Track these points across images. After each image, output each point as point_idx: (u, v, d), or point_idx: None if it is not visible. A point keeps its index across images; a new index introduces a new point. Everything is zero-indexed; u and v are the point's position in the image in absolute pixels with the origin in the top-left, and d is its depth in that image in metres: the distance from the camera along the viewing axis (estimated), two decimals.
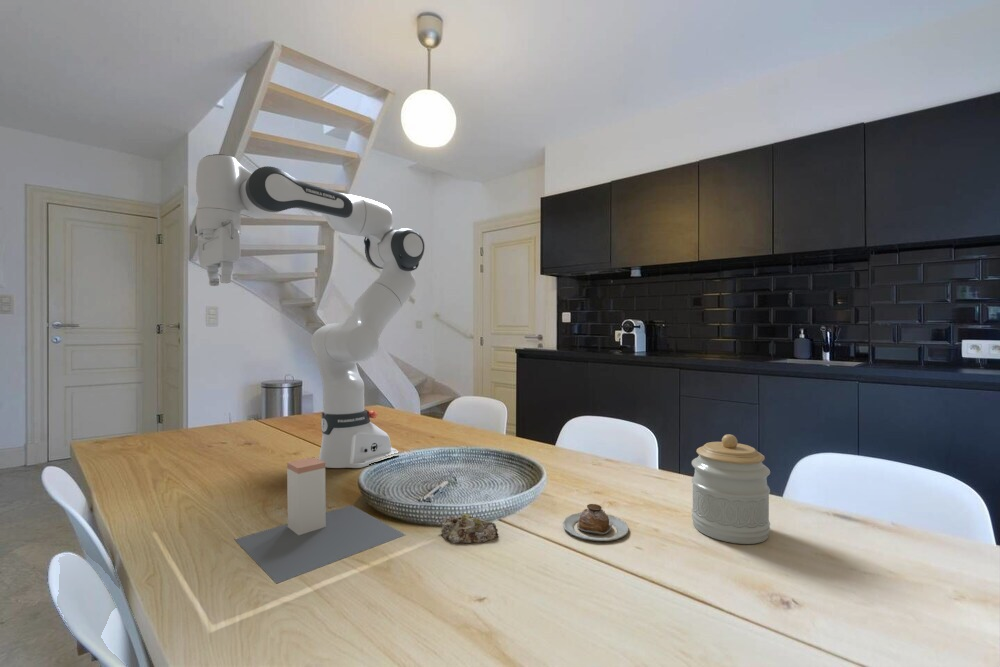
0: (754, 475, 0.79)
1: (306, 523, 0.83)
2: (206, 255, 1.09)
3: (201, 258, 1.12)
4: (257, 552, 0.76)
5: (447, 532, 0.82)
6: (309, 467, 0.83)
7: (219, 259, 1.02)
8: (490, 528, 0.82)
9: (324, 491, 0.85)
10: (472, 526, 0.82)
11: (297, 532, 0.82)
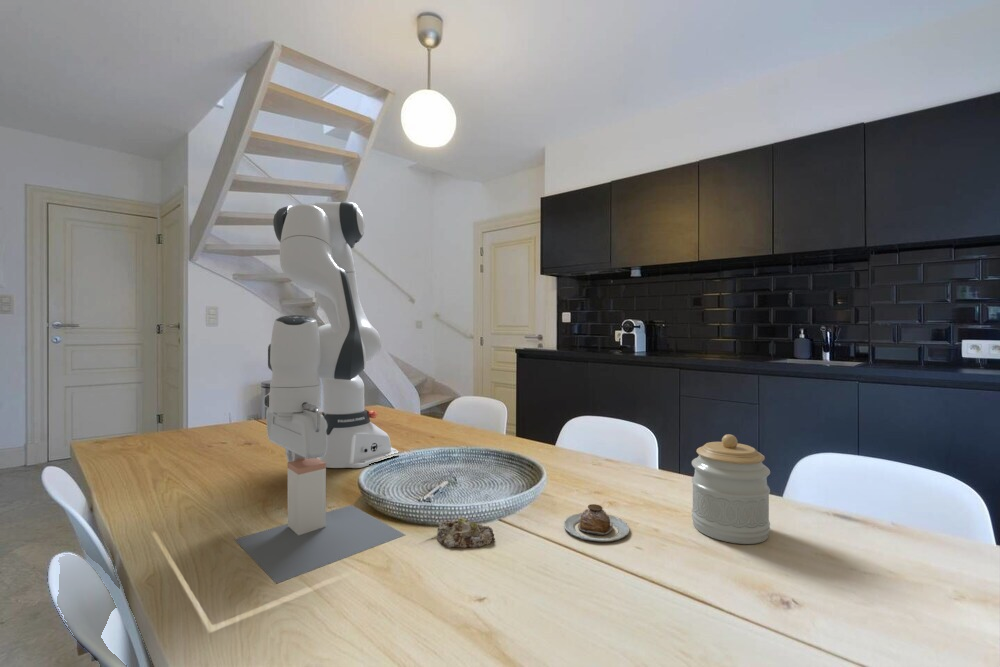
0: (754, 475, 0.79)
1: (306, 523, 0.83)
2: (279, 434, 0.89)
3: (270, 432, 0.92)
4: (257, 552, 0.76)
5: (442, 536, 0.80)
6: (309, 468, 0.83)
7: (301, 455, 0.82)
8: (486, 533, 0.80)
9: (324, 491, 0.85)
10: (468, 530, 0.81)
11: (297, 532, 0.82)
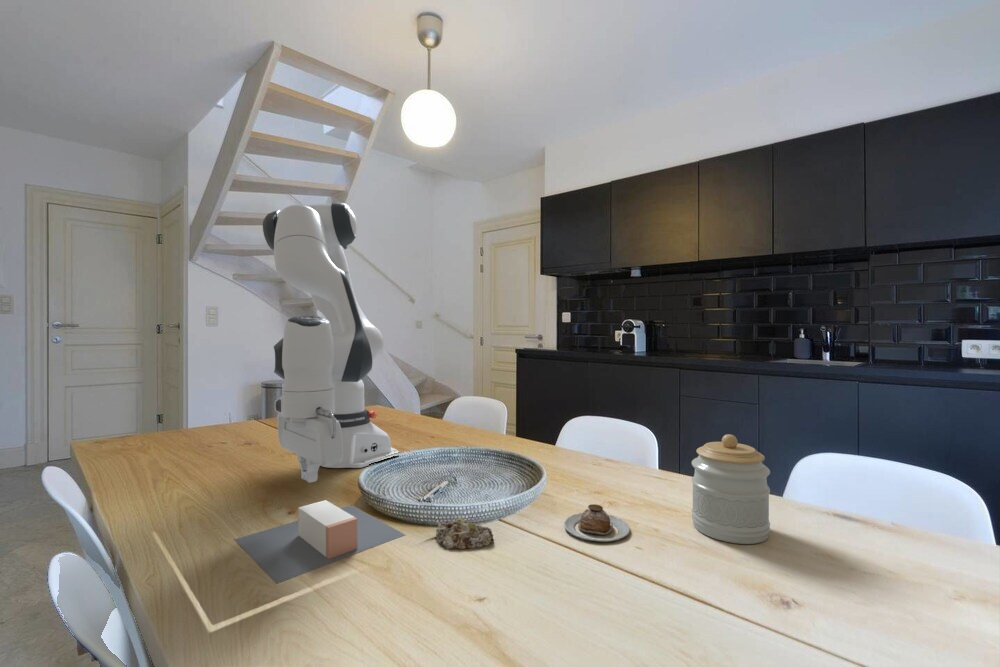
0: (754, 475, 0.79)
1: None
2: (291, 440, 0.85)
3: (282, 437, 0.89)
4: (257, 552, 0.76)
5: (441, 537, 0.80)
6: (339, 553, 0.75)
7: (316, 462, 0.78)
8: (485, 534, 0.80)
9: None
10: (466, 531, 0.80)
11: (299, 533, 0.82)
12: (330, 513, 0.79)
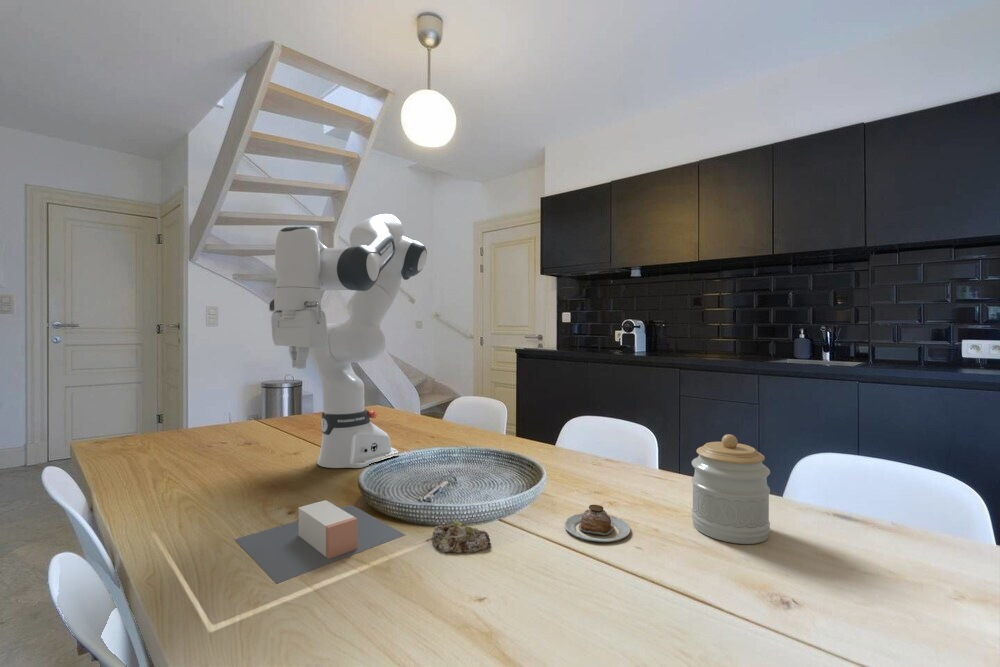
0: (754, 475, 0.79)
1: None
2: (283, 335, 0.98)
3: (275, 336, 1.02)
4: (257, 552, 0.76)
5: (437, 541, 0.79)
6: (339, 553, 0.75)
7: (304, 345, 0.91)
8: (482, 538, 0.78)
9: None
10: (463, 535, 0.79)
11: (299, 533, 0.82)
12: (330, 513, 0.79)
